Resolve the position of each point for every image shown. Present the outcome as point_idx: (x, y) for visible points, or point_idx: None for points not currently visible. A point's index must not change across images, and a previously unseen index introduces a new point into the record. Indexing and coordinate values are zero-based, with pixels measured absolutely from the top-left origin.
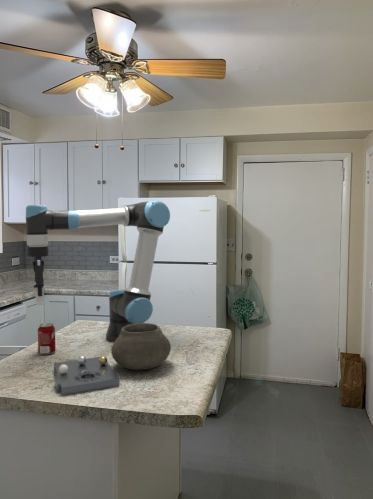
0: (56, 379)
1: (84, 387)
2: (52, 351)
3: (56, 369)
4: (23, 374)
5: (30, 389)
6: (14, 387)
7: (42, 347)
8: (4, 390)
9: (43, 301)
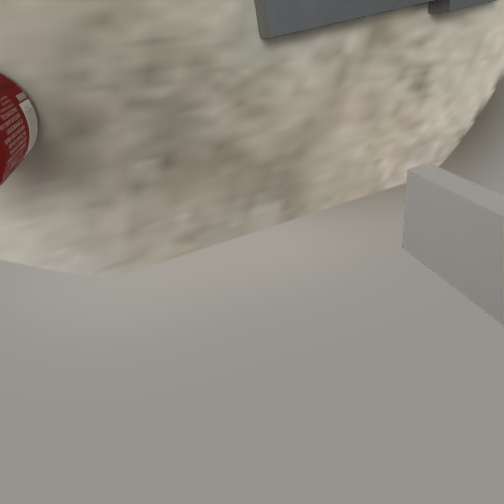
0: (465, 4)
1: None
2: (8, 79)
3: (359, 15)
4: (281, 163)
5: (422, 105)
6: (386, 162)
7: (29, 142)
8: (396, 185)
9: (457, 184)
